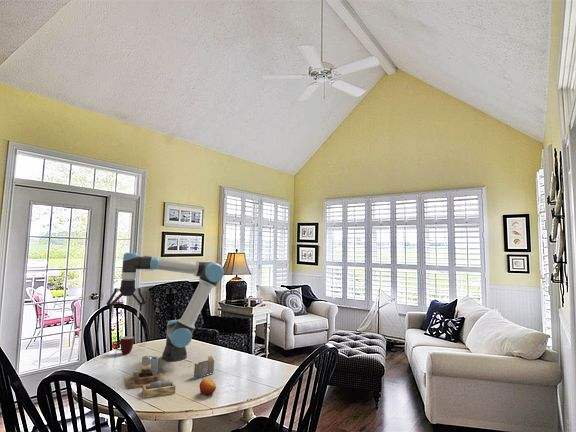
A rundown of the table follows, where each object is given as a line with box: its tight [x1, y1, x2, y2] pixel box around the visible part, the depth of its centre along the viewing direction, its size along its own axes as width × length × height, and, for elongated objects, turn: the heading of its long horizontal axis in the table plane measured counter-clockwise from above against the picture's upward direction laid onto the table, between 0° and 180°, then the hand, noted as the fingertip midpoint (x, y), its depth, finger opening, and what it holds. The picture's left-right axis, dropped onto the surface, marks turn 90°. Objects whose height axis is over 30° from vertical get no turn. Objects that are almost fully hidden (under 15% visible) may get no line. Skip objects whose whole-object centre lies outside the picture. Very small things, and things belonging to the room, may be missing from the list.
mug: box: [115, 335, 135, 355], centre depth 228 cm, size 11×8×10 cm
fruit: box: [199, 377, 217, 396], centre depth 172 cm, size 8×8×8 cm
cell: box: [140, 355, 153, 377], centre depth 184 cm, size 5×5×12 cm
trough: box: [141, 379, 176, 398], centre depth 170 cm, size 14×7×5 cm, turn 119°
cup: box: [151, 355, 159, 373], centre depth 199 cm, size 6×6×7 cm
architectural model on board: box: [193, 355, 215, 379], centre depth 196 cm, size 11×3×10 cm, turn 141°
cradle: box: [124, 370, 166, 390], centre depth 183 cm, size 18×14×4 cm
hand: (125, 317), depth 202 cm, fingers open, 13 cm apart
